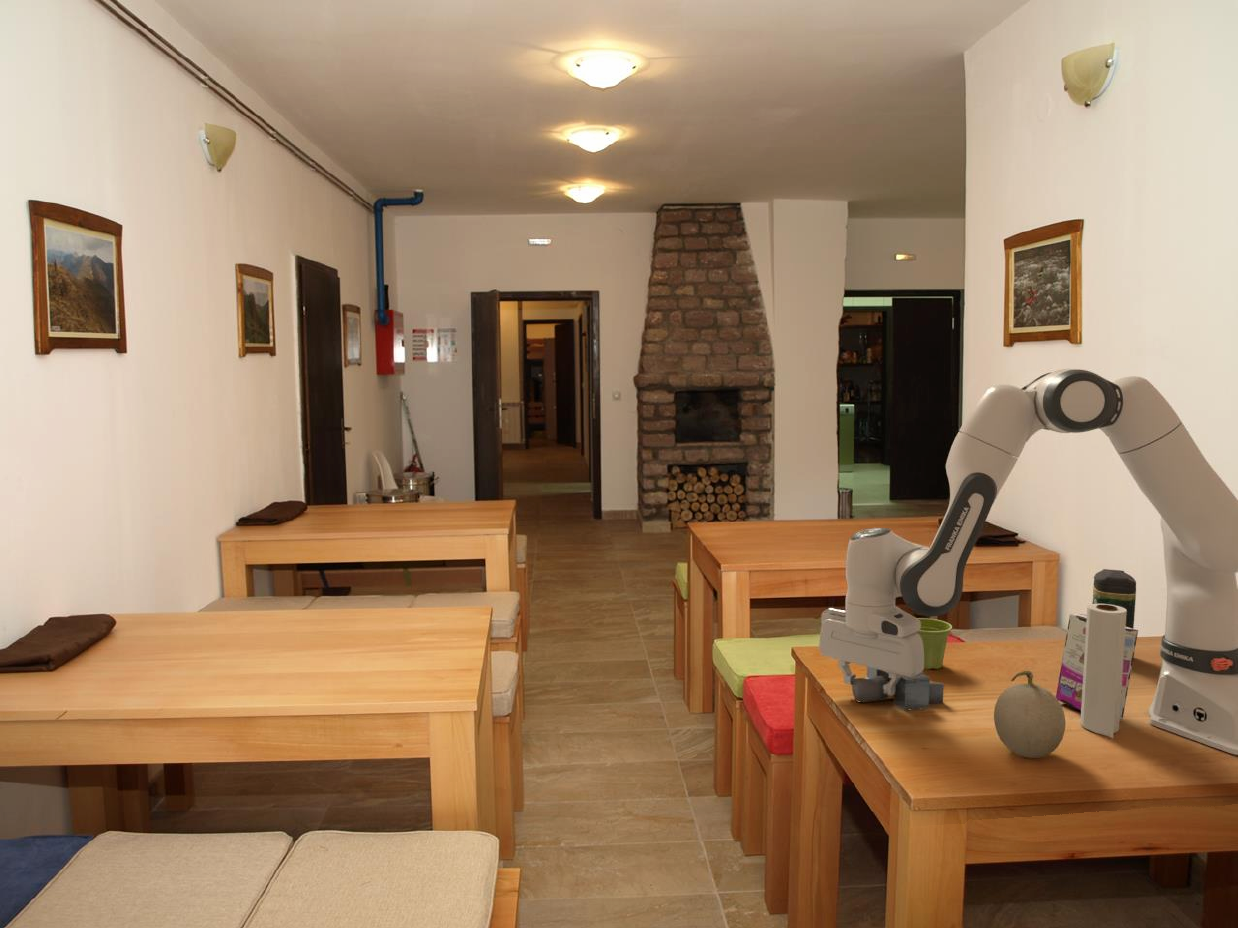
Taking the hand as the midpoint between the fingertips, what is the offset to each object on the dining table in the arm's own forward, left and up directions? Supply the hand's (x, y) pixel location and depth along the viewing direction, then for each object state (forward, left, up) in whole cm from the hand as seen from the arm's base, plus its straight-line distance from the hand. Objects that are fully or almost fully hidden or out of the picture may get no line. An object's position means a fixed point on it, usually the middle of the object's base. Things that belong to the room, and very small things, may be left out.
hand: (869, 688), depth 178 cm
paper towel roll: (-23, -31, -3) cm, 39 cm away
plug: (0, -4, -2) cm, 5 cm away
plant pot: (+14, -22, -3) cm, 27 cm away
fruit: (-28, -12, -3) cm, 30 cm away
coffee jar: (+7, -62, -3) cm, 63 cm away
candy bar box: (-16, -35, -2) cm, 39 cm away
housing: (0, -8, -2) cm, 9 cm away
